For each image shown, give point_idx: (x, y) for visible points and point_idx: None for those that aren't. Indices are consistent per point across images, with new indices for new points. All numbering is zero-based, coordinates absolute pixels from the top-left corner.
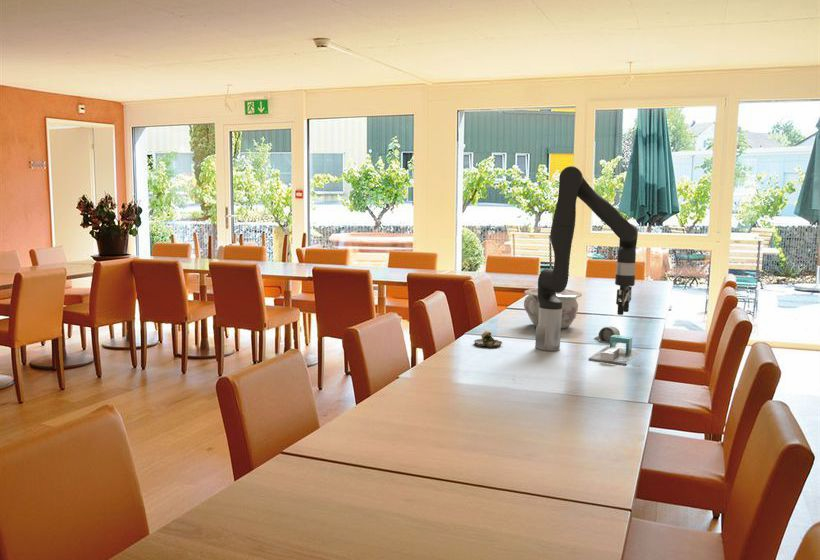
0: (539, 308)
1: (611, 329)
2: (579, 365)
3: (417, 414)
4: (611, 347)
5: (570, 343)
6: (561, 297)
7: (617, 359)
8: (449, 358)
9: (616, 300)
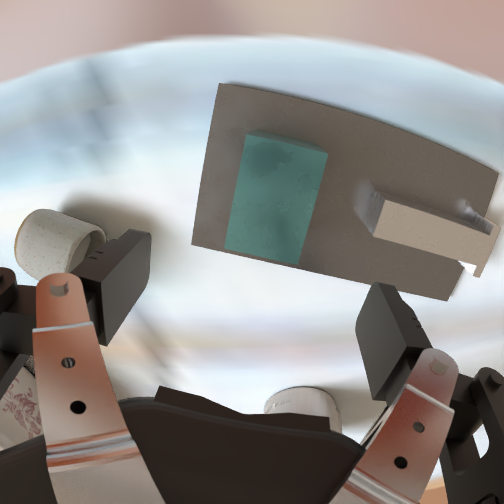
0: None
1: (70, 260)
2: (498, 311)
3: None
4: (384, 237)
5: (178, 361)
6: (4, 447)
7: (449, 198)
8: (435, 480)
9: (469, 456)
